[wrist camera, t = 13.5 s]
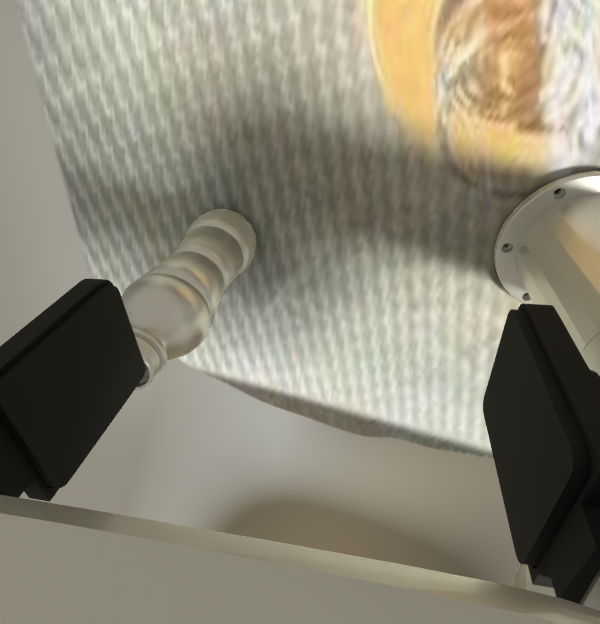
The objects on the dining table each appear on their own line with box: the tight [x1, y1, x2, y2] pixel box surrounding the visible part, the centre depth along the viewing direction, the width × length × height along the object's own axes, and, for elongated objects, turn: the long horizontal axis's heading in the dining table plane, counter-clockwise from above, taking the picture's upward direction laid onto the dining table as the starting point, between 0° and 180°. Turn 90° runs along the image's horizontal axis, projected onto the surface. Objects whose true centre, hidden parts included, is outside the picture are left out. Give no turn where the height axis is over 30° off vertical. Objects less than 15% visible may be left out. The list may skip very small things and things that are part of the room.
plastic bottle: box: [121, 209, 257, 389], centre depth 33 cm, size 6×7×20 cm
